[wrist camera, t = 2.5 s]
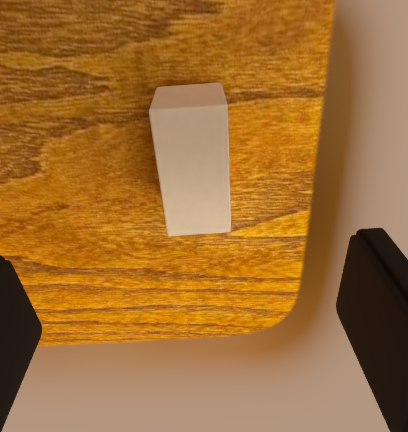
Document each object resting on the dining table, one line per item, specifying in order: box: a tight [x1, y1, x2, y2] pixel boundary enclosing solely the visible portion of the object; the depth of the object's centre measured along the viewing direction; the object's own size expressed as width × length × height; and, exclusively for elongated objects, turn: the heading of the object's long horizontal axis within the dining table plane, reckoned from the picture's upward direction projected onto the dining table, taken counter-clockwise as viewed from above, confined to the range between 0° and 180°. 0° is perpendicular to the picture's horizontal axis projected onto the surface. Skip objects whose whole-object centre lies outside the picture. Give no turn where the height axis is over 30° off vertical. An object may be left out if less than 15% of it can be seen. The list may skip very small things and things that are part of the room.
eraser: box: [149, 82, 231, 236], centre depth 16 cm, size 6×3×4 cm, turn 4°
